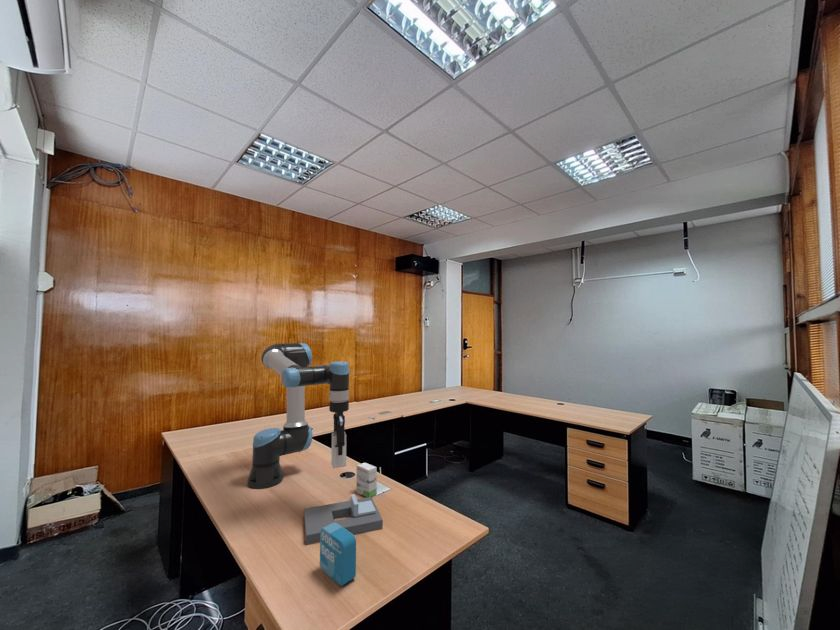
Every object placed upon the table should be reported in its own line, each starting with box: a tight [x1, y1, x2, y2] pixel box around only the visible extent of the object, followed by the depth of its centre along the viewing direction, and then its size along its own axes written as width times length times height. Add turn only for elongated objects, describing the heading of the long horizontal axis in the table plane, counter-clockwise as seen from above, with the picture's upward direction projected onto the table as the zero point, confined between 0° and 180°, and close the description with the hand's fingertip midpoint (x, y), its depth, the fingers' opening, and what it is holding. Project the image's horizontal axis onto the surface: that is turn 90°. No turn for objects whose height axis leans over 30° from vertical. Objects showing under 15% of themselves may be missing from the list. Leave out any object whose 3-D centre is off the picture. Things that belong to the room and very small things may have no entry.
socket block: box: [303, 496, 384, 546], centre depth 123 cm, size 18×26×3 cm
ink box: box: [356, 462, 378, 498], centre depth 145 cm, size 9×5×12 cm, turn 49°
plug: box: [330, 430, 347, 469], centre depth 131 cm, size 5×5×13 cm
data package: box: [319, 522, 357, 587], centre depth 97 cm, size 12×4×12 cm, turn 48°
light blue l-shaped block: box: [350, 493, 376, 517], centre depth 125 cm, size 8×8×4 cm
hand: (338, 460), depth 131 cm, fingers closed on plug, 5 cm apart
